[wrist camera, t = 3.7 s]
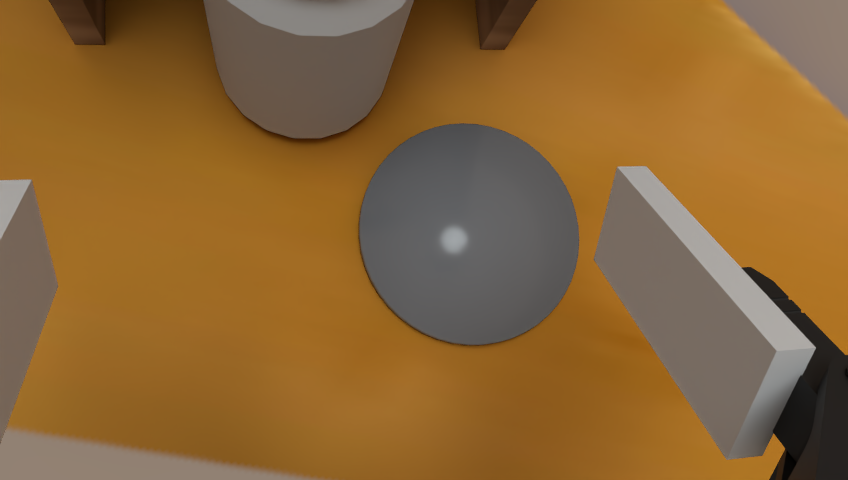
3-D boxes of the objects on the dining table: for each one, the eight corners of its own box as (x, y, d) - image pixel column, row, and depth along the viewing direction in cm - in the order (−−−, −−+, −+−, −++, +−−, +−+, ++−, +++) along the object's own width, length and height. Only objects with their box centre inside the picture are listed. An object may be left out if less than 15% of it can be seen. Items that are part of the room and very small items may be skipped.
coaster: (365, 353, 31) (367, 352, 30) (351, 129, 32) (352, 124, 32) (586, 337, 33) (591, 336, 32) (560, 127, 35) (565, 122, 34)
